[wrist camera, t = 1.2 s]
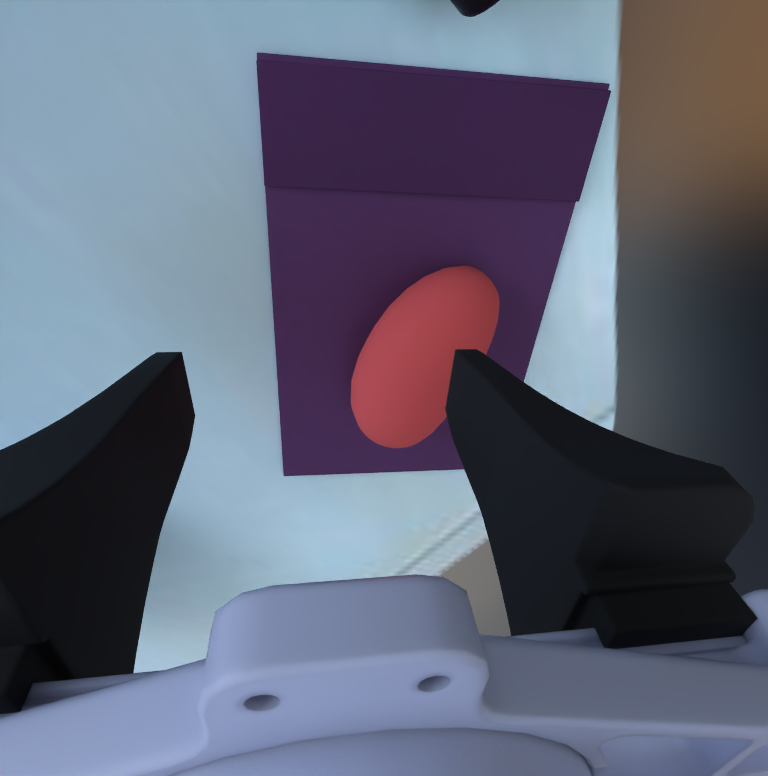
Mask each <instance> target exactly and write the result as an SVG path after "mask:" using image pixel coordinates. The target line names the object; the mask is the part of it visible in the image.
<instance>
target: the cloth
mask: <svg viewBox="0 0 768 776" xmlns="http://www.w3.org/2000/svg"><path fill="white" fill-rule="evenodd" d="M257 75H258V91H259V106H260V121H261V137H262V152H263V168H264V183H265V190H266V205H267V221H268V236H269V252H270V268H271V283H272V299H273V314H274V330H275V346H276V361H277V377H278V392H279V408H280V424H281V439H282V455H283V470H284V476H299V475H325V474H351V473H377V472H403V471H429V470H456V469H464V467H463V464H462V462H461V460H460V457H459V454H458V452H457V449H456V447H455V444H454V442H453V439H452V435H451V431H450V428H449V423H448V419H447V417H446V418H445V420H444V421H443V422H442V423H441V424H440V425H439V426H438V427H437V428H436V429H435V430H434V432H433V433H432V434H430V435H429V436H428V437H426V438H425V439H423V440H422V441H421V442H419V443H417V444H415V445H412V446H409V447H405V448H389V447H385V446H382V445H379V444H377V443H375V442H373V441H372V440H370V439H369V438H368V437H367V436H366V435H365V434H364V433H363V432H362V431H361V429H360V427H359V426H358V423H357V421H356V418H355V416H354V413H353V411H352V407H351V380H352V376H353V373H354V370H355V366H356V363H357V360H358V357H359V354H360V352H361V350H362V348H363V346H364V344H365V342H366V340H367V338H368V337H369V335H370V333H371V331H372V330H373V328H374V326H375V325H376V323H377V322H378V321H379V319H380V318H381V317H382V315H383V314H384V312H385V311H386V310H387V308H388V307H389V306H390V305H391V304H392V303H393V302H394V301H395V300H396V299H397V298H398V297H399V296H400V295H401V294H402V293H403V292H404V291H405V290H406V289H407V288H408V287H410V286H411V285H413V284H414V283H416V282H417V281H419V280H420V279H422V278H423V277H425V276H427V275H429V274H432V273H434V272H436V271H439V270H441V269H444V268H448V267H455V266H471V267H474V268H476V269H478V270H480V271H481V272H483V273H484V274H485V275H486V276H487V277H488V278H489V279H490V280H491V281H492V283H493V284H494V286H495V287H496V289H497V292H498V295H499V300H500V305H499V316H498V322H497V326H496V329H495V333H494V336H493V339H492V342H491V344H490V346H489V349H488V351H487V354H486V355H487V356H488V357H490V358H491V359H492V360H494V361H495V362H496V363H498V364H499V365H501V366H502V367H503V368H505V369H506V370H507V371H509V372H510V373H511V374H513V375H514V376H516V377H517V378H518V379H520V380H521V381H523V382H524V379H525V375H526V372H527V368H528V365H529V361H530V358H531V354H532V351H533V347H534V344H535V340H536V337H537V334H538V330H539V327H540V323H541V320H542V316H543V313H544V309H545V306H546V302H547V299H548V296H549V292H550V289H551V285H552V282H553V278H554V275H555V271H556V268H557V264H558V261H559V258H560V254H561V251H562V247H563V244H564V240H565V237H566V233H567V230H568V226H569V223H570V219H571V216H572V213H573V209H574V206H575V202H576V201H579V199H580V196H581V192H582V189H583V185H584V182H585V179H586V175H587V172H588V168H589V165H590V162H591V158H592V155H593V151H594V148H595V145H596V141H597V138H598V134H599V131H600V127H601V124H602V121H603V117H604V114H605V110H606V107H607V104H608V100H609V97H610V93H611V91H610V90H608V88H609V84H604V83H593V82H582V81H571V80H559V79H548V78H537V77H526V76H514V75H503V74H492V73H481V72H470V71H458V70H447V69H436V68H425V67H413V66H402V65H391V64H380V63H368V62H357V61H346V60H335V59H323V58H312V57H301V56H290V55H279V54H267V53H257Z"/></svg>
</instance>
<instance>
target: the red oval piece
mask: <svg viewBox="0 0 768 776" xmlns="http://www.w3.org/2000/svg"><path fill="white" fill-rule="evenodd" d="M499 305H500V300H499V295H498V292H497V289H496V287H495V286H494V284H493V283H492V281H491V280H490V279H489V278H488V277H487V276H486V275H485V274H484V273H483V272H481V271H480V270H478V269H476V268H474V267H471V266H455V267H448V268H444V269H441V270H439V271H436V272H434V273H432V274H429V275H427V276H425V277H423V278H422V279H420V280H419V281H417V282H416V283H414V284H413V285H411V286H410V287H408V288H407V289H406V290H405V291H404V292H403V293H402V294H401V295H400V296H399V297H398V298H397V299H396V300H395V301H394V302H393V303H392V304H391V305H390V306H389V307H388V308H387V310H386V311H385V312H384V314H383V315H382V317H381V318H380V319H379V321H378V322H377V323H376V325H375V326H374V328H373V330H372V331H371V333H370V335H369V337H368V338H367V340H366V342H365V344H364V346H363V348H362V350H361V352H360V354H359V357H358V360H357V363H356V366H355V370H354V373H353V376H352V380H351V407H352V411H353V413H354V416H355V418H356V421H357V423H358V426H359V427H360V429H361V431H362V432H363V433H364V434H365V435H366V436H367V437H368V438H369V439H370V440H372V441H373V442H375V443H377V444H379V445H382V446H385V447H389V448H405V447H409V446H412V445H415V444H417V443H419V442H421V441H422V440H423V439H425V438H426V437H428V436H429V435H430V434H432V433H433V432H434V430H435V429H436V428H437V427H438V426H439V425H440V424H441V423H442V422H443V421H444V420H445V418H446V417H447V414H446V410H445V407H446V401H447V395H448V389H449V383H450V377H451V371H452V366H453V360H454V354H455V349H477V350H479V351H481V352H482V353H484V354H485V355H486V354H487V351H488V349H489V346H490V344H491V342H492V339H493V336H494V333H495V329H496V326H497V322H498V316H499Z"/></svg>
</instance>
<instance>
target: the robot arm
mask: <svg viewBox="0 0 768 776" xmlns="http://www.w3.org/2000/svg"><path fill="white" fill-rule="evenodd" d="M445 410H446V414H447V419H448V423H449V428H450V431H451V435H452V439H453V442H454V444H455V447H456V449H457V452H458V454H459V457H460V460H461V462H462V464H463V467H464V469H465V472H466V474H467V477H468V479H469V482H470V484H471V487H472V489H473V492H474V494H475V497H476V499H477V502H478V504H479V507H480V510H481V513H482V516H483V520H484V523H485V527H486V530H487V534H488V538H489V541H490V545H491V549H492V553H493V556H494V561H495V565H496V569H497V573H498V576H499V580H500V585H501V590H502V594H503V599H504V603H505V608H506V612H507V616H508V621H509V626H510V631H511V636H507V637H500V636H491V635H482V634H479V632H478V629H477V625H476V622H475V619H474V615H473V612H472V608H471V605H470V601H469V598H468V595H467V591H466V590H464V589H463V588H461V587H460V586H458V585H456V584H455V583H453V582H451V581H450V580H448V579H446V578H444V577H438V576H426V575H403V576H390V577H377V578H364V579H351V580H338V581H325V582H312V583H300V584H287V585H274V586H269V587H265V588H260V589H256V590H252V591H248V592H243V593H241V594H240V595H238V596H237V597H235V598H234V599H233V600H231V601H230V602H228V603H227V604H226V605H224V606H223V607H221V608H220V609H218V610H217V611H216V612H215V616H214V620H213V624H212V628H211V633H210V639H209V645H208V651H207V656H206V659H203V660H199V661H196V662H192V663H189V664H185V665H182V666H178V667H175V668H171V669H168V670H162V671H152V672H142V673H133V671H134V665H135V658H136V652H137V646H138V640H139V635H140V629H141V623H142V618H143V612H144V606H145V601H146V596H147V591H148V587H149V582H150V577H151V572H152V567H153V562H154V558H155V554H156V549H157V545H158V540H159V536H160V532H161V529H162V526H163V522H164V519H165V516H166V513H167V510H168V507H169V505H170V502H171V499H172V496H173V493H174V490H175V488H176V485H177V482H178V479H179V476H180V473H181V471H182V468H183V465H184V462H185V459H186V456H187V453H188V450H189V446H190V441H191V436H192V431H193V425H194V419H195V413H194V408H193V403H192V399H191V394H190V389H189V384H188V379H187V375H186V370H185V365H184V360H183V355H182V352H157V353H155V354H153V355H152V356H150V357H149V358H147V359H146V360H145V361H143V362H142V363H141V364H139V365H138V366H137V367H135V368H134V369H133V370H131V371H130V372H129V373H127V374H126V375H125V376H123V377H122V378H120V379H119V380H118V381H116V382H115V383H114V384H112V385H111V386H110V387H108V388H107V389H105V390H104V391H103V392H101V393H100V394H98V395H97V396H95V397H94V398H92V399H91V400H89V401H88V402H86V403H85V404H83V405H82V406H80V407H79V408H77V409H76V410H74V411H73V412H71V413H70V414H68V415H66V416H65V417H63V418H61V419H60V420H58V421H56V422H55V423H53V424H51V425H49V426H48V427H46V428H44V429H42V430H40V431H38V432H36V433H35V434H33V435H31V436H29V437H27V438H25V439H23V440H21V441H19V442H17V443H15V444H13V445H10V446H8V447H6V448H4V449H2V450H0V776H768V589H763V590H757V591H753V592H750V593H748V594H746V595H744V596H742V597H740V596H739V594H738V593H737V592H736V591H735V589H734V588H733V587H732V585H731V584H730V583H729V582H733V581H734V580H735V579H736V577H735V573H734V572H733V570H732V569H731V568H730V567H729V565H728V564H727V563H726V562H725V561H724V560H725V559H726V558H727V556H728V555H729V554H730V553H731V551H732V550H733V549H734V547H735V546H736V545H737V543H738V542H739V541H740V540H741V538H742V537H743V536H744V534H745V533H746V531H747V530H748V528H749V526H750V525H751V523H752V521H753V516H754V512H755V504H754V500H753V498H752V496H751V495H750V494H749V493H748V492H747V491H746V490H745V489H744V488H743V487H742V486H741V485H740V484H739V483H738V482H737V481H736V480H735V479H734V478H733V477H732V476H731V475H730V474H729V473H728V472H727V471H726V470H725V469H724V468H723V467H721V466H717V465H713V464H710V463H706V462H702V461H698V460H695V459H691V458H687V457H684V456H680V455H676V454H673V453H670V452H666V451H664V450H661V449H658V448H655V447H652V446H649V445H646V444H643V443H640V442H638V441H635V440H632V439H630V438H627V437H624V436H622V435H620V434H617V433H615V432H613V431H610V430H608V429H606V428H603V427H601V426H599V425H597V424H595V423H592V422H590V421H588V420H586V419H584V418H582V417H581V416H579V415H577V414H575V413H573V412H571V411H569V410H567V409H565V408H564V407H562V406H560V405H558V404H557V403H555V402H553V401H552V400H550V399H549V398H547V397H545V396H544V395H542V394H541V393H539V392H537V391H536V390H534V389H533V388H531V387H530V386H528V385H527V384H526V383H524V382H523V381H521V380H520V379H518V378H517V377H516V376H514V375H513V374H511V373H510V372H509V371H507V370H506V369H505V368H503V367H502V366H501V365H499V364H498V363H496V362H495V361H494V360H492V359H491V358H490V357H488V356H487V355H485V354H484V353H482V352H481V351H479V350H477V349H455V354H454V360H453V366H452V371H451V377H450V383H449V389H448V395H447V401H446V407H445Z"/></svg>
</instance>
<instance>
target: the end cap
mask: <svg viewBox="0 0 768 776" xmlns="http://www.w3.org/2000/svg"><path fill="white" fill-rule="evenodd" d="M498 1H499V0H451V2H452V3H453V4H454V5H455V7H456V8H457V9H458V10H459V12H460V13H461V14H462V15H464V16H468V17H473V16H476V15H478V14H480V13H482V12H484V11H486V10H487V9H489V8H490V7H492V6H493V5H494V4H496V3H497V2H498Z"/></svg>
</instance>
